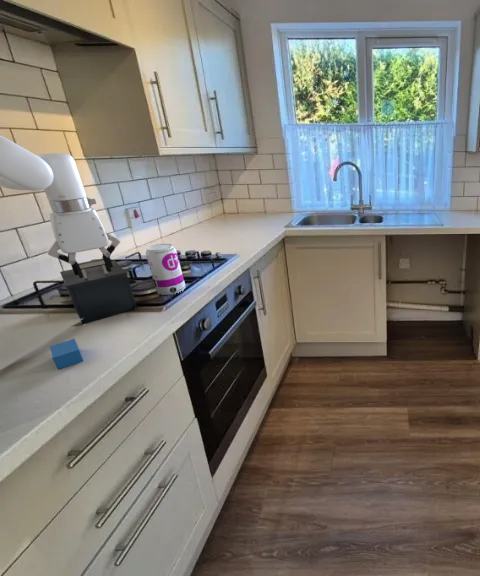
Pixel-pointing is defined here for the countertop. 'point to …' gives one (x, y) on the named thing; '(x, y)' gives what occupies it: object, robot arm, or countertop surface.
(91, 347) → the countertop surface
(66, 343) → the blue rectangular block
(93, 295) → the bin
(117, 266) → the bin lid
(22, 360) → the countertop surface
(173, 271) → the supplement can
